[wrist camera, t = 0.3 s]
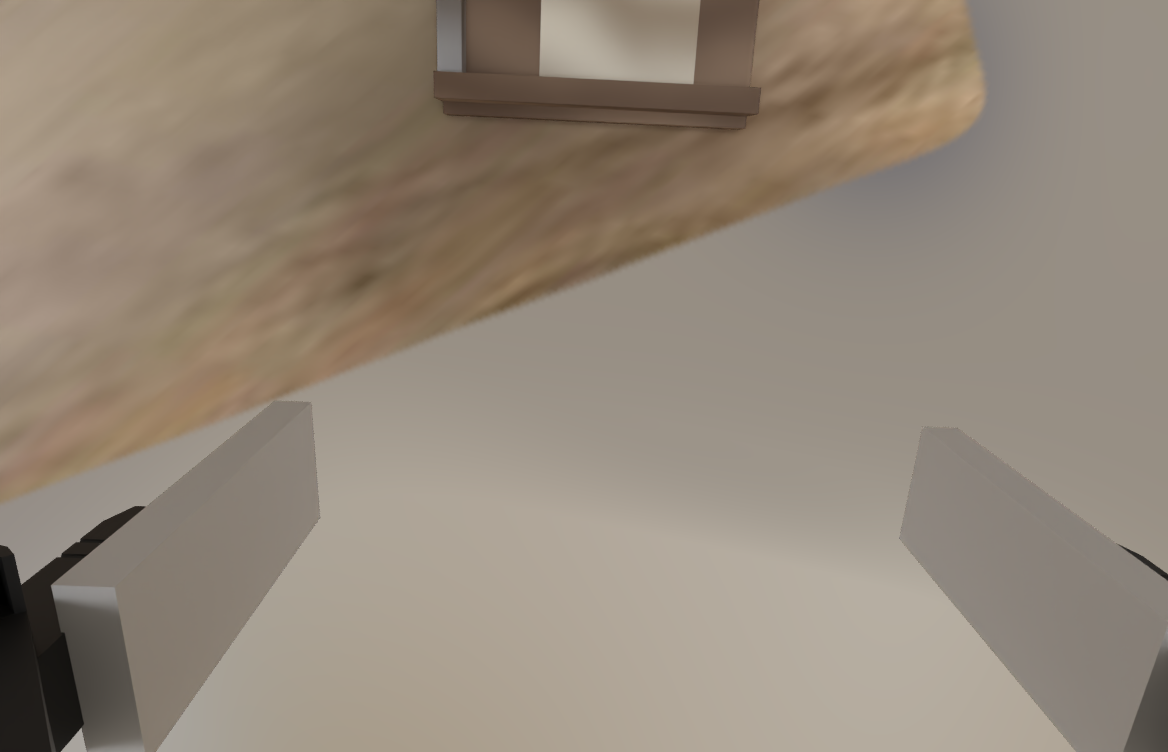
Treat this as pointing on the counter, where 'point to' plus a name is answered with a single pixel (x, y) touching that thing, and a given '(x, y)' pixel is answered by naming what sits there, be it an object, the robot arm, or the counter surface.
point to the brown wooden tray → (599, 61)
